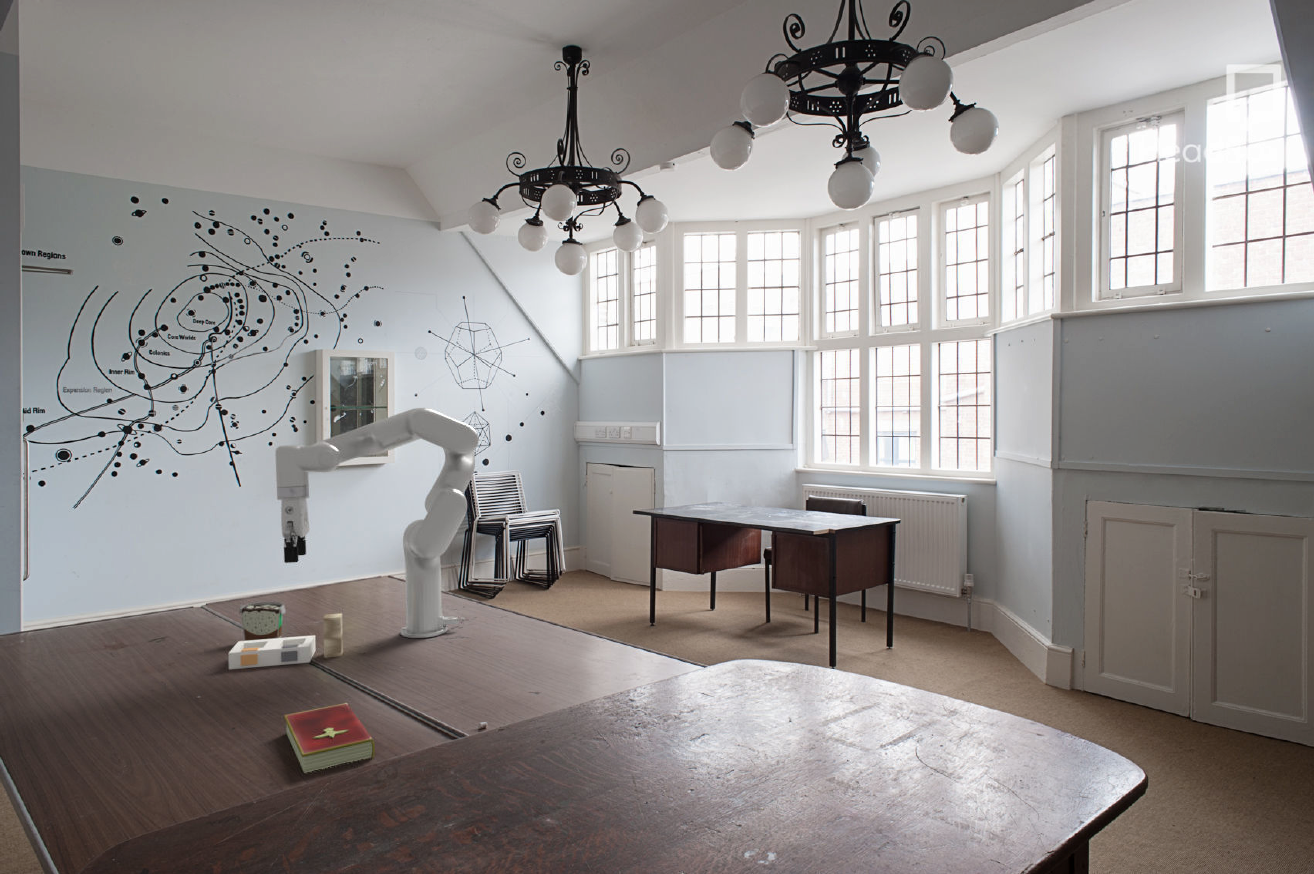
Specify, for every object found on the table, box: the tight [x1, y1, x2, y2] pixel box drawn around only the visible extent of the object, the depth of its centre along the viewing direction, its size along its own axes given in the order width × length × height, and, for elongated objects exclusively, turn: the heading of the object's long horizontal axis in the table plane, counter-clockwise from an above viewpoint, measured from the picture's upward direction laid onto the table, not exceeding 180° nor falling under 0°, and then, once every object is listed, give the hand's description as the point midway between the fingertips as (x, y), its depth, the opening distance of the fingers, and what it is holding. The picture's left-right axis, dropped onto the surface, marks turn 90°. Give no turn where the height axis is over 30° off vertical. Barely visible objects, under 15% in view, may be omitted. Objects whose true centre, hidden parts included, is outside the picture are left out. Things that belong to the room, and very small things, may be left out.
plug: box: [322, 613, 344, 659], centre depth 199 cm, size 4×4×10 cm
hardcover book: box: [283, 702, 376, 774], centre depth 145 cm, size 12×21×4 cm, turn 33°
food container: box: [238, 601, 287, 641], centre depth 212 cm, size 12×6×10 cm, turn 84°
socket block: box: [227, 635, 316, 670], centre depth 195 cm, size 18×10×4 cm, turn 106°
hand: (295, 558), depth 201 cm, fingers open, 9 cm apart
